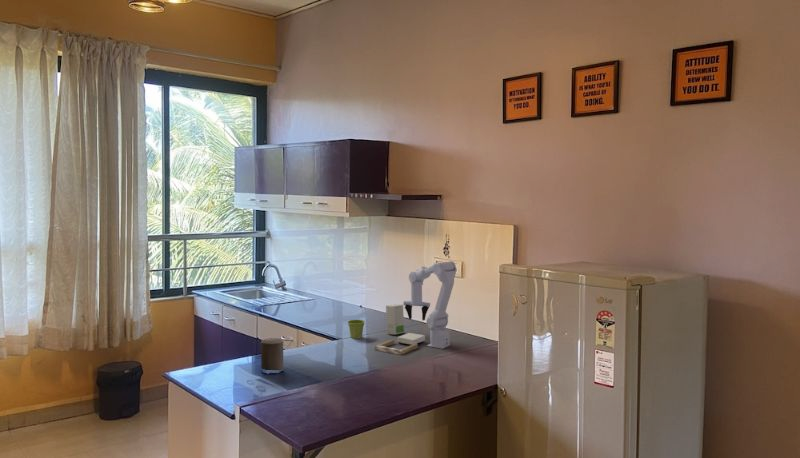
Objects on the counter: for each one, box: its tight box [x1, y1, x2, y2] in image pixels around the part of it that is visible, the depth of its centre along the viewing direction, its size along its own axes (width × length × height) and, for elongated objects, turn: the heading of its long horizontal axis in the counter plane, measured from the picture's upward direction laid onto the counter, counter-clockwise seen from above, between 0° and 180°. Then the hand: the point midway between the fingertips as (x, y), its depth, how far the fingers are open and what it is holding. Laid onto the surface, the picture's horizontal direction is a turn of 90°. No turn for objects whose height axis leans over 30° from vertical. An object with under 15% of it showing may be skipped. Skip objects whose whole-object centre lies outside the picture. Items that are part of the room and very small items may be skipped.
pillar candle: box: [260, 337, 284, 370], centre depth 261 cm, size 10×10×15 cm
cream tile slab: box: [396, 332, 426, 345], centre depth 305 cm, size 10×11×4 cm
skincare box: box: [385, 303, 405, 335], centre depth 324 cm, size 8×7×16 cm
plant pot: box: [347, 319, 366, 340], centre depth 317 cm, size 9×9×9 cm
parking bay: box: [374, 339, 419, 355], centre depth 294 cm, size 16×14×2 cm
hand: (416, 319), depth 313 cm, fingers open, 7 cm apart
